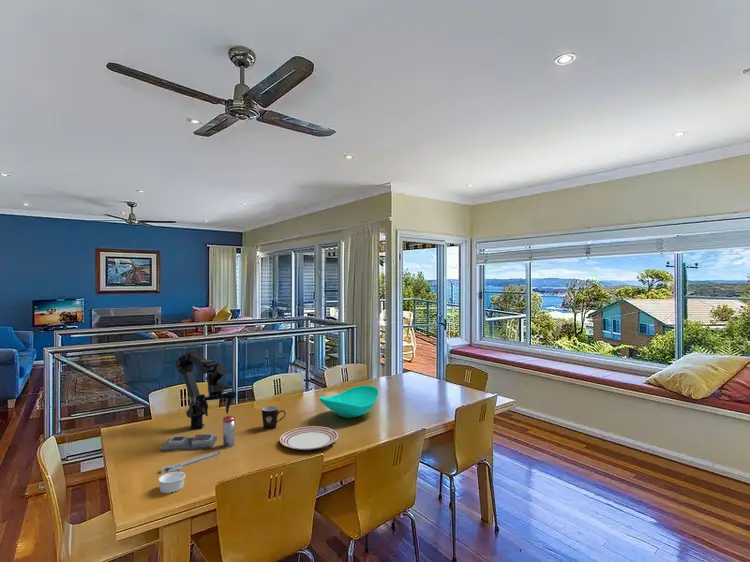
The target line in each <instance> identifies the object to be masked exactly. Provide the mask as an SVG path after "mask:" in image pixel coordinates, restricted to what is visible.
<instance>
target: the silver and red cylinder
mask: <svg viewBox="0 0 750 562" xmlns="http://www.w3.org/2000/svg"><path fill="white" fill-rule="evenodd" d="M222 418H223V419H222V420H223V422H222V423H223V424H222V448H224V447H230V448H232V446H233V447H234V446H235V427H236V426H235V421H236V420H235V419H236V418H235V416H234V415H226V416H224V417H222Z"/></svg>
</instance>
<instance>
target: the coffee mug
mask: <svg viewBox="0 0 750 562" xmlns="http://www.w3.org/2000/svg"><path fill="white" fill-rule="evenodd" d="M281 412H282V413H283V414H284V415H283V417H281V418H280V419H278V415H280V413H281ZM261 416H262V426H263V427H262V428H263V429H264V430H266V429H271V430H274V428H275V429H276V428H277V425H278V422H280V421H281V420H283V419H284V418H285V417H286V411H285V410H282V409H281V410H279V407H278V406H276V405H267V406H263V407H262V408H261Z"/></svg>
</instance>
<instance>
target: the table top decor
mask: <svg viewBox="0 0 750 562" xmlns="http://www.w3.org/2000/svg"><path fill="white" fill-rule="evenodd" d="M379 393H380V392H379V389H378V388H377V387H375V386H372V385H358V386H354V387H351V388H348V389H347V390H345V391H343V392H341V393H339V394H335V395H332V396H328V397H327V396H320V397H319V400H320V402H321V403H322V404H323V405H324V406H325V407H326V408H327V409H329V410H330V411H332V412H333V413H336V414H337V415H338V416H340V417H342V418H345V419H352V418H356V417H359V416H363V415H364V414H366V413H367V412H368V413H369V411H370V410H371V409H372V408H373V406H374V405H375V403H376V402H377V400H378V397H379Z"/></svg>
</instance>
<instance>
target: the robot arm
mask: <svg viewBox="0 0 750 562" xmlns="http://www.w3.org/2000/svg"><path fill="white" fill-rule="evenodd" d="M174 365H175V368H176V369H177V372H178V373H179V374H181V375H182V377H183V380H184V383H185V385H186V390H187V392H188V395H189V399H190V400H189V403H188V409H187V411H186V417H187V418H190V426H189V427H188V430H202V429H203V428H204V426H205V423H203V419H204V417H203V416H206V417H208V416H209V415H208V414H209V413H208V410H209V404H208V402H209V401H216V400H225V401H224V402H225V413H226V415H227V414H229V409H230V406H231V403H232V402H233V401H235V400H236V398H237V397H238V396H237V391H236V390H235V391H233V390H232V391H227V392H226V394H223V393H224V391H225V390H228V382H222V383H221V380H222V379H223V378H224V377H225V376H226V375H228V373H229V368H228V367H227V366H226V364H223V363H222V362H217V361H216V360H215V359H214V360H213V359H206V358H205V357H203V356H201V355H200V354H198V353H197V352H196V351H189V352H186V353H184V354H183V355H182V356H179V357H178V358H177V359H176V361H175V362H174ZM194 366H196V367H197V366H198V367H199V371H200V372H201V374H203V375H205V374H207V376H206V377H205V381H207V392H208V395H206V396H205V394H204V393H203V394H201V393H200V390H199V387H198V385H197V381H196V378H195V376H194V372H193V369H194Z"/></svg>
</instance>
